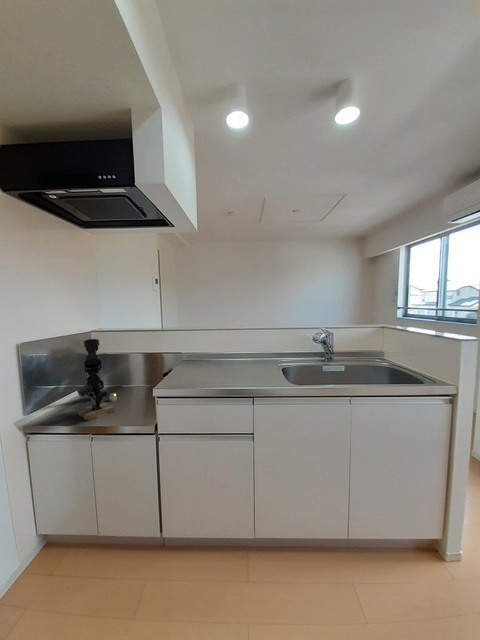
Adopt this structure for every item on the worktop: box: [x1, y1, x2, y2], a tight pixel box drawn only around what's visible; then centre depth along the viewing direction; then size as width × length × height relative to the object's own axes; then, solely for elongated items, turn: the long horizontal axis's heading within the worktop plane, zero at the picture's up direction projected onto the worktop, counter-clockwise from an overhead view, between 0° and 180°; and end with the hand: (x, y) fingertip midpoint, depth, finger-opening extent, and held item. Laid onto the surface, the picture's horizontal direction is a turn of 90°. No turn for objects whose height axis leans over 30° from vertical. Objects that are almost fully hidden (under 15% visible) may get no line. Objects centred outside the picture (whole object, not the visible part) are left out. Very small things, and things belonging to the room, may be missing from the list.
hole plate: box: [77, 401, 115, 422], centre depth 150 cm, size 14×14×2 cm
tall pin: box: [90, 396, 100, 411], centre depth 149 cm, size 4×4×8 cm
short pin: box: [108, 392, 118, 402], centre depth 168 cm, size 4×4×4 cm
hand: (96, 406), depth 149 cm, fingers closed on tall pin, 4 cm apart
